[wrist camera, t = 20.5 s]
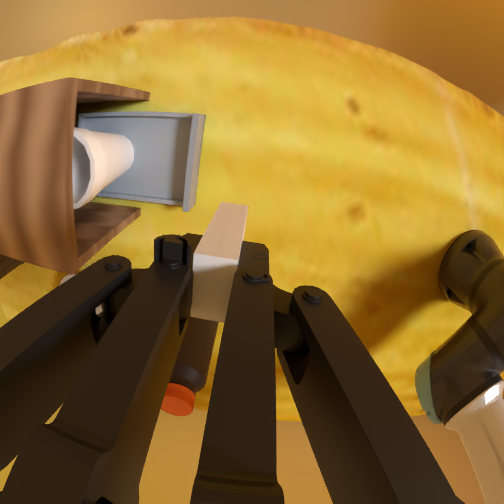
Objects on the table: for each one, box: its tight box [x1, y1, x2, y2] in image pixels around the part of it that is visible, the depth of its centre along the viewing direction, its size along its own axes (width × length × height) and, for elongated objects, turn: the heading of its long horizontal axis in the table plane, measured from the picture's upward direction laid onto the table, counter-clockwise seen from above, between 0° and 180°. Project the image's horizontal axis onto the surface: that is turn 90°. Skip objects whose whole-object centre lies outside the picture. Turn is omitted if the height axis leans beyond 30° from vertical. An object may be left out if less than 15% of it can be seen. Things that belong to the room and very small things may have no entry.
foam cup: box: [72, 127, 134, 209], centre depth 30 cm, size 10×9×13 cm
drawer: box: [78, 112, 206, 212], centre depth 35 cm, size 20×13×4 cm, turn 81°
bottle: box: [161, 308, 219, 416], centre depth 40 cm, size 7×7×20 cm
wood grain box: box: [0, 78, 150, 275], centre depth 28 cm, size 14×19×19 cm
